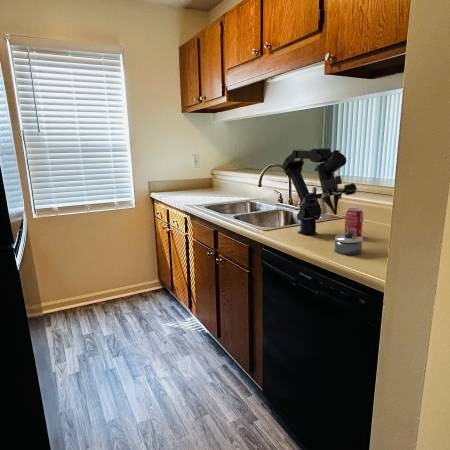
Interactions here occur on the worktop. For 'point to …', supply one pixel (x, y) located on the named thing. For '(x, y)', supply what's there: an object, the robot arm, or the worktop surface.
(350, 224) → the soda can
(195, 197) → the worktop surface
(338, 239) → the cooker lid
